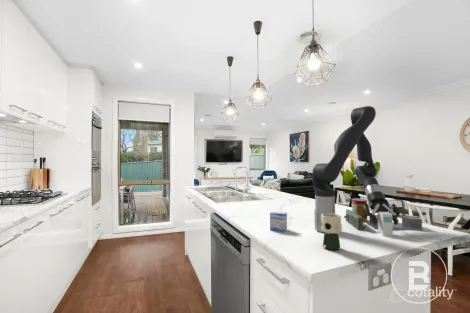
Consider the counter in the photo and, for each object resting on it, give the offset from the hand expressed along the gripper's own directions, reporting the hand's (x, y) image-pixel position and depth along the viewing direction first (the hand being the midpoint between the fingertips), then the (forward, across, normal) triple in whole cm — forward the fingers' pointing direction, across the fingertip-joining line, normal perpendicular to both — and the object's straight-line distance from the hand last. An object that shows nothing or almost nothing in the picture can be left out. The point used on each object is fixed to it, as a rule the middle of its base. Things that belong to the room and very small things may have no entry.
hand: (386, 223), depth 107 cm
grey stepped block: (-7, +10, +14) cm, 19 cm away
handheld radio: (-10, -9, +18) cm, 22 cm away
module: (+3, 0, +5) cm, 5 cm away
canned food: (-16, -2, +24) cm, 29 cm away
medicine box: (+2, -49, +5) cm, 49 cm away
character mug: (+18, -29, -11) cm, 36 cm away
